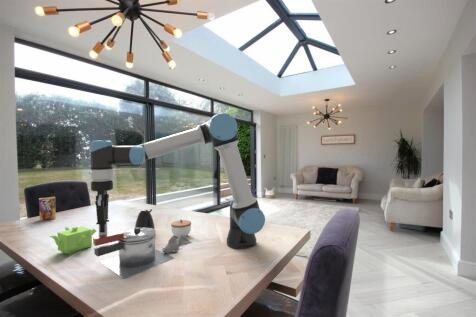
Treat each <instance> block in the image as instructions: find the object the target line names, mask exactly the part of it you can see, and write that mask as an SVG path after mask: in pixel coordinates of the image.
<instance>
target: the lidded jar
mask: <svg viewBox="0 0 476 317" xmlns="http://www.w3.org/2000/svg"><path fill="white" fill-rule="evenodd" d="M170 224H171V225H170V226H171V227H170V228H171V234H172V235H173V236H175V238H178V236H183V237H184V238H185V237H186V238H187V237H188V236H189V235H190V233H191V229H192V222H191V221H190V220H187V219H179V220H175V221H173V222H171V223H170Z"/></svg>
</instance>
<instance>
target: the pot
mask: <svg viewBox="0 0 476 317" xmlns="http://www.w3.org/2000/svg"><path fill="white" fill-rule="evenodd" d="M155 249H156V235H155V236H154V237H152V238H150V239H147V240H144V241H139V242H122V241H115V242H110V243H106V244H102V245H99V246H95V247H94V249H93V250H94V252H93V253H94V256H96V257H101V256H104V255H108V254H111V253H114V252H117V251H118V255H119V264H120V265H121V266H122V267H127V268H133V267H140V266H144V265H147V264H149V263H151V262H152V261H153V260H154V259H155Z"/></svg>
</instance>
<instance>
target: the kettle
mask: <svg viewBox="0 0 476 317" xmlns="http://www.w3.org/2000/svg"><path fill="white" fill-rule="evenodd" d="M64 229H65V230H63V231H62V230H61V231H58V232H57V235H51V236H48V238H52V239H53V240H54V243H55V245H56V246H57V250H58V251H60V252H62V253H64V254H65V255H69V256H72V255H74V254H75V253H76V252H78V251H81V250H85V249H87V248H91V247H92V246H93V235H95V233H96V232H97V230H96V229H94V228H92V229H91V228H88V227H86V226H85V227H84V226H73V227H71V228H69V227H68V226H65V227H64Z"/></svg>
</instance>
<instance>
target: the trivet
mask: <svg viewBox="0 0 476 317" xmlns="http://www.w3.org/2000/svg"><path fill="white" fill-rule="evenodd" d="M174 259H175V257H174V256H172V255H169V254H165V253H164V252H163V251H160V250H158V249H156V248H155V259H154V260H153V261H152V262H151V263H149V264H147V265H144V266H140V267H133V268H127V267H122V266H121V265H120V264H119V254H118V255H115V256H112V257H108V258H106V259H103V260H99V263H100V264H102V265H103V266H105V267H106V268H107V269H109V270H110V271H112V272H114V273H115V275H118V276H119V277H120V278H122V279H123V280H125V279H128V278H131V277H132V276H136V275H137V274H139V273H143V272H144V271H147V270H149V269H152V268H154V267H157V266H159V265H162V264H165V263H167V262H169V261H172V260H174Z"/></svg>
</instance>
